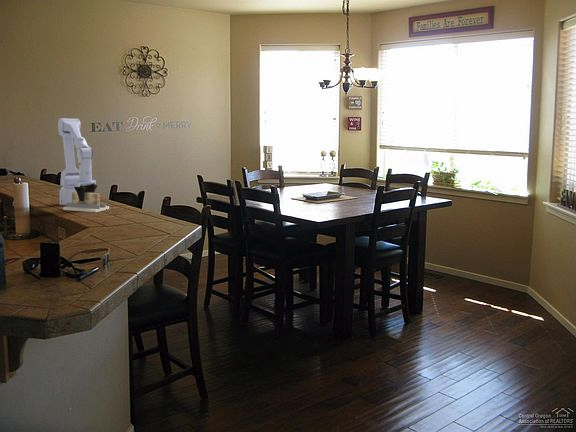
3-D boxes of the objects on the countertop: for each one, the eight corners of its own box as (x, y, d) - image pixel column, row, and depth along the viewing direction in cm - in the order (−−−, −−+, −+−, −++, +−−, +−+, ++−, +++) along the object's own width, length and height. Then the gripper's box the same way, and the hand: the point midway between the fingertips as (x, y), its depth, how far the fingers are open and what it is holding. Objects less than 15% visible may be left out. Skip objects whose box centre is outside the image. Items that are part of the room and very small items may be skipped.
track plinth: (63, 209, 290) (62, 203, 290) (77, 206, 302) (77, 200, 301) (95, 212, 286) (95, 206, 286) (109, 208, 297) (109, 202, 297)
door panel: (72, 206, 294) (71, 192, 293) (74, 205, 297) (74, 191, 295) (97, 208, 291) (97, 193, 290) (99, 207, 293) (99, 193, 292)
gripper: (84, 174, 283) (84, 202, 285) (101, 171, 297) (101, 198, 299) (71, 173, 285) (71, 201, 287) (88, 170, 299) (89, 197, 301)
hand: (86, 200), depth 293 cm, fingers open, 7 cm apart
